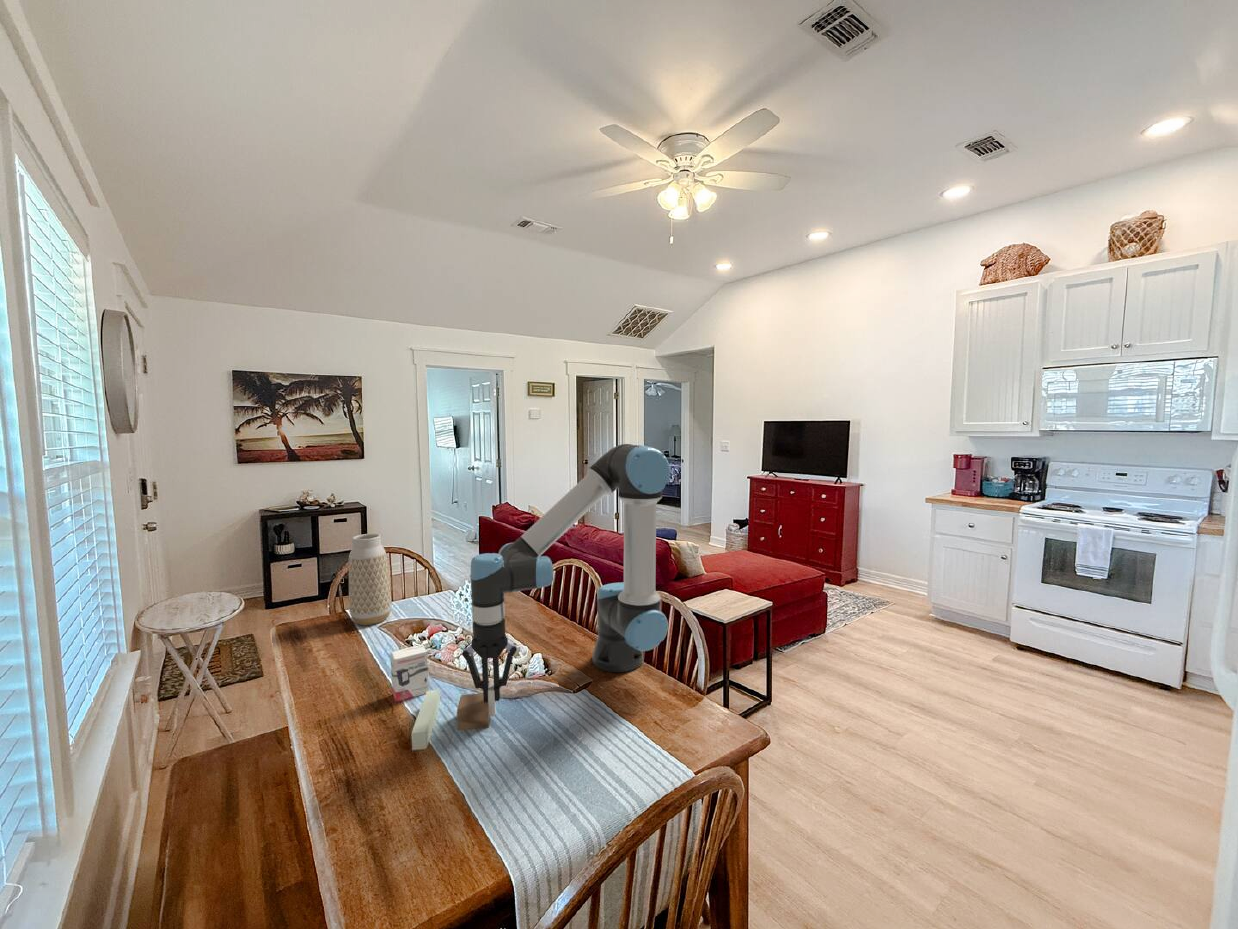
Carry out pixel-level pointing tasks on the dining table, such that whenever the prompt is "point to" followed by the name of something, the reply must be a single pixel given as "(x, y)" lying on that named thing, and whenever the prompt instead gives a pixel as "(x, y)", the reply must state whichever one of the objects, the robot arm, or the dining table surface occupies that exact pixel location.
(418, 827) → the dining table surface
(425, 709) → the board
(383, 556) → the vase
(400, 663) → the ink box
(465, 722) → the push block
